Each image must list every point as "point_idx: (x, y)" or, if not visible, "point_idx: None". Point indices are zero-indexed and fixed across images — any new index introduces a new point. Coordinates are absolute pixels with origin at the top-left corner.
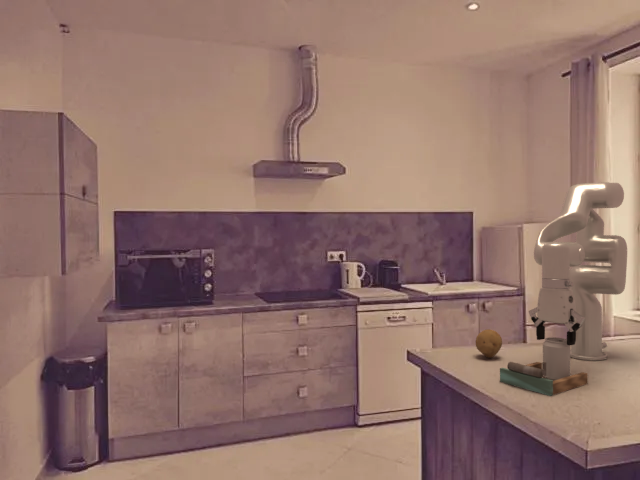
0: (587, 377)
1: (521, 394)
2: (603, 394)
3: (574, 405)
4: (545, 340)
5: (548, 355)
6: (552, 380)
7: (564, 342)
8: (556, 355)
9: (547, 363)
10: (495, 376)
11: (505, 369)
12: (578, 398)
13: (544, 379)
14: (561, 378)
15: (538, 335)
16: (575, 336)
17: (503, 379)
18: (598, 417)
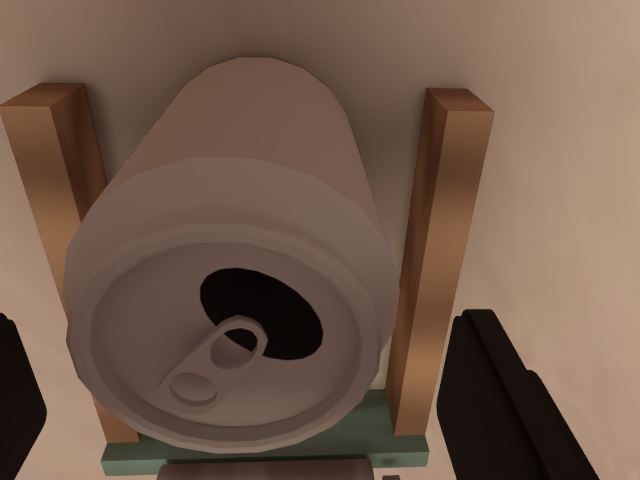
0: (482, 103)
1: None
2: (606, 215)
3: None
4: (116, 389)
5: (246, 345)
6: (428, 453)
7: (370, 366)
8: (316, 337)
9: (243, 298)
10: (34, 367)
11: (142, 472)
12: (517, 349)
13: (390, 464)
14: (410, 341)
15: (12, 466)
16: (566, 435)
17: None
18: (637, 448)
